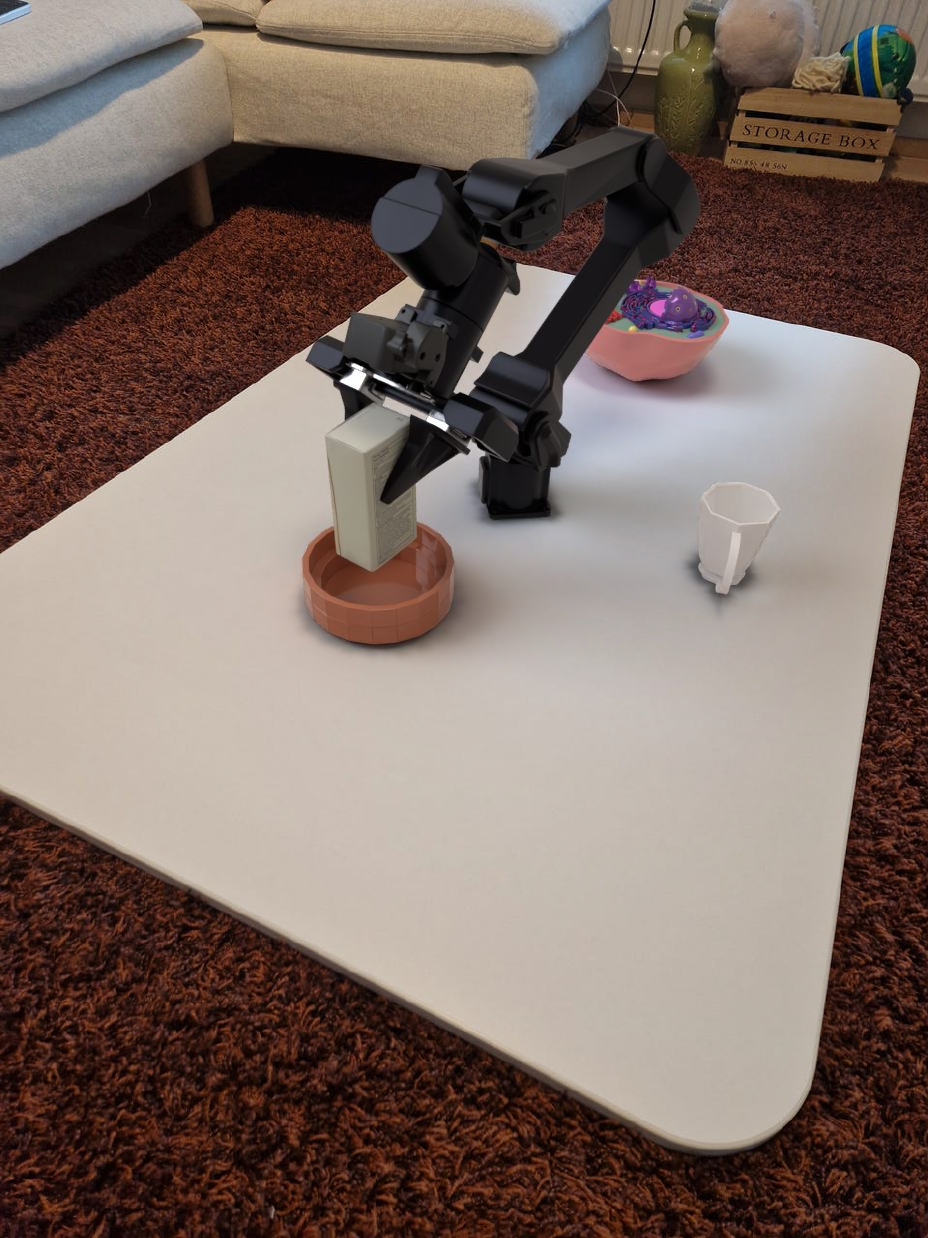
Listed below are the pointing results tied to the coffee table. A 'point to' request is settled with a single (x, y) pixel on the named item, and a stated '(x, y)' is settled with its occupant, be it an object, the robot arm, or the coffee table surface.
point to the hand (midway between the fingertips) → (362, 491)
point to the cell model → (658, 331)
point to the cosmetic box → (369, 487)
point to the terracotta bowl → (379, 589)
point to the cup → (732, 530)
